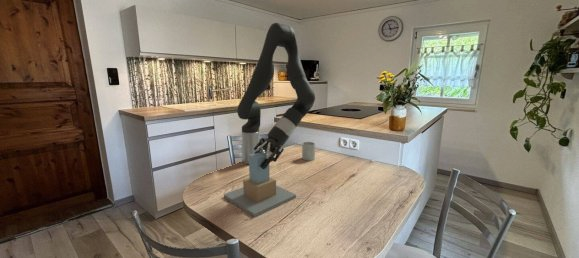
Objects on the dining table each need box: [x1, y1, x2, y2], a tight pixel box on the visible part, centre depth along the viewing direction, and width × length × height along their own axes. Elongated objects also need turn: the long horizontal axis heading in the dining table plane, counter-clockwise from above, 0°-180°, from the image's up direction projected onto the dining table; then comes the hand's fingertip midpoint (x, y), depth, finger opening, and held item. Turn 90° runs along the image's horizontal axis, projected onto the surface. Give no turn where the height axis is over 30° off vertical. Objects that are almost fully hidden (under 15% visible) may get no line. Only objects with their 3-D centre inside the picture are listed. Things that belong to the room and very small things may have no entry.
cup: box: [301, 141, 316, 161], centre depth 145 cm, size 7×10×9 cm
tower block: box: [248, 152, 271, 184], centre depth 97 cm, size 6×6×10 cm
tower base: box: [223, 177, 297, 218], centre depth 98 cm, size 20×20×7 cm
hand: (256, 164), depth 96 cm, fingers open, 8 cm apart
